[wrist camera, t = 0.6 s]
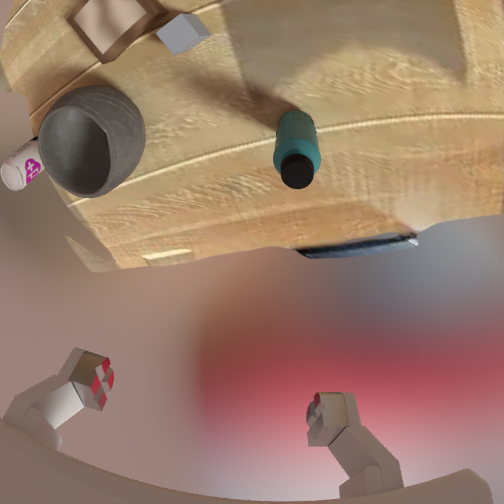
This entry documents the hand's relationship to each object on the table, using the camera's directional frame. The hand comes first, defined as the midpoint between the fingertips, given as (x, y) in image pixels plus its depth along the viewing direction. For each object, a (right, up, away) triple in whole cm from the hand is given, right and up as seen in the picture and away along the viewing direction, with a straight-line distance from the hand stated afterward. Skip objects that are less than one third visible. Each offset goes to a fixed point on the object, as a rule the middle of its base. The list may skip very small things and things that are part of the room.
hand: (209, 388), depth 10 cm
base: (-22, +48, +24) cm, 58 cm away
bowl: (-26, +32, +40) cm, 58 cm away
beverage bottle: (+9, +28, +37) cm, 48 cm away
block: (-8, +42, +27) cm, 50 cm away
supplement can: (-48, +31, +45) cm, 72 cm away
